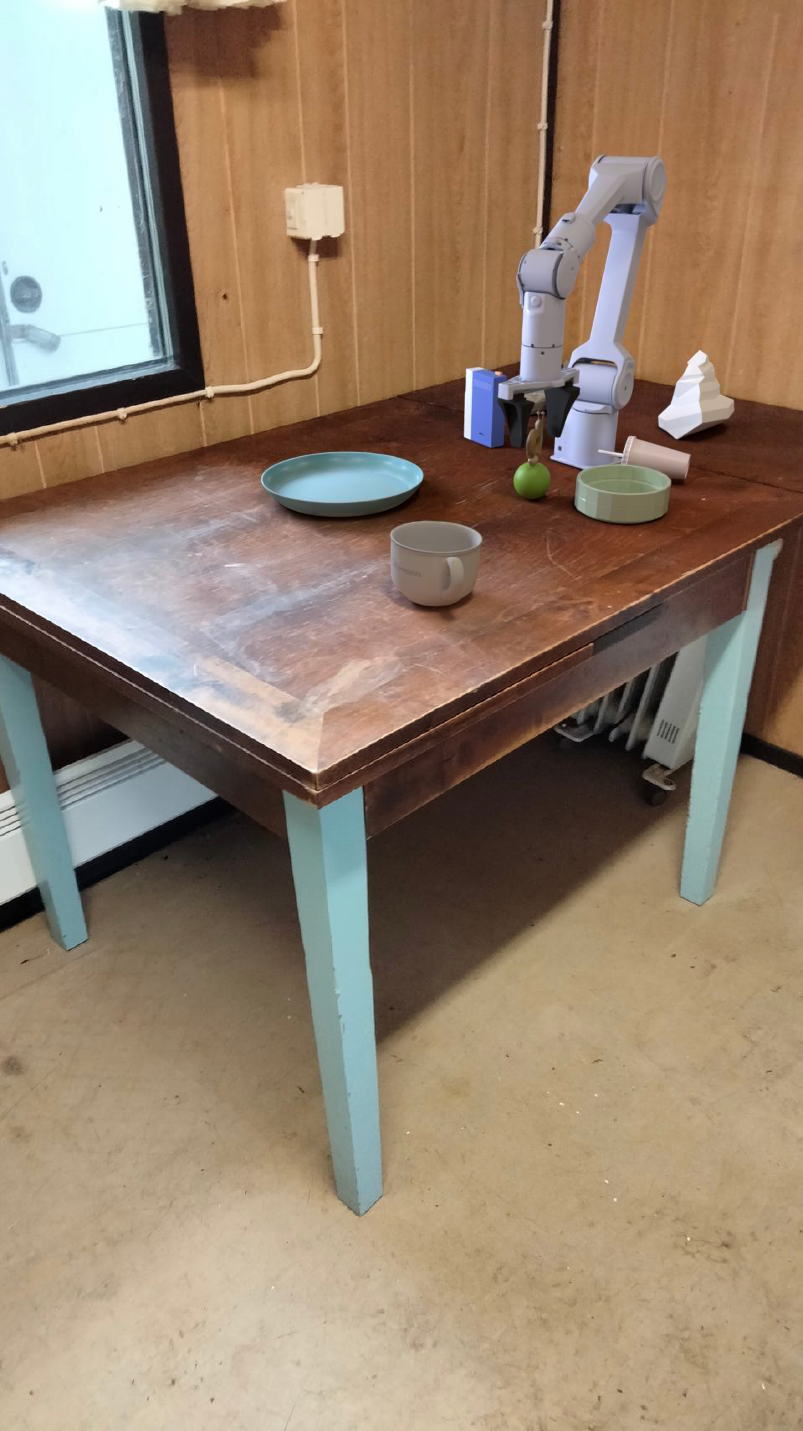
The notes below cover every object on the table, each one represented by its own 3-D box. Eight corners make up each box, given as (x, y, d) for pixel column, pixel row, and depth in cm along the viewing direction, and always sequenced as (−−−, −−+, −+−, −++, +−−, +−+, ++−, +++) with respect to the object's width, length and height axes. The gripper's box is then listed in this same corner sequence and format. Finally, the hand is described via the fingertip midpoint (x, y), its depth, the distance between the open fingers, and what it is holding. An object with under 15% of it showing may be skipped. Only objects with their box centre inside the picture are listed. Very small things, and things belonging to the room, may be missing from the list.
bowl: (555, 507, 151) (557, 477, 148) (614, 487, 158) (617, 458, 155) (626, 532, 142) (630, 501, 140) (685, 510, 149) (690, 480, 147)
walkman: (503, 445, 176) (507, 373, 170) (490, 448, 175) (493, 375, 169) (476, 434, 182) (478, 364, 176) (463, 436, 181) (465, 366, 174)
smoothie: (694, 444, 159) (605, 429, 163) (690, 446, 154) (598, 431, 158) (684, 486, 162) (597, 470, 166) (680, 489, 156) (590, 473, 160)
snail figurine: (554, 491, 156) (559, 412, 150) (545, 505, 151) (550, 424, 145) (519, 488, 158) (523, 409, 152) (508, 501, 153) (512, 420, 146)
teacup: (387, 579, 129) (386, 518, 125) (473, 576, 130) (475, 515, 126) (396, 629, 117) (396, 564, 113) (491, 625, 118) (493, 560, 114)
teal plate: (456, 493, 156) (456, 471, 154) (341, 538, 141) (340, 515, 139) (344, 460, 170) (344, 440, 168) (229, 498, 155) (227, 476, 153)
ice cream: (640, 442, 182) (636, 357, 178) (688, 432, 192) (685, 352, 187) (702, 438, 173) (699, 349, 169) (749, 428, 182) (748, 343, 178)
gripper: (526, 356, 136) (520, 457, 143) (599, 340, 144) (590, 437, 151) (489, 347, 141) (485, 446, 148) (561, 333, 149) (554, 427, 156)
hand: (536, 441), depth 150 cm, fingers open, 7 cm apart
